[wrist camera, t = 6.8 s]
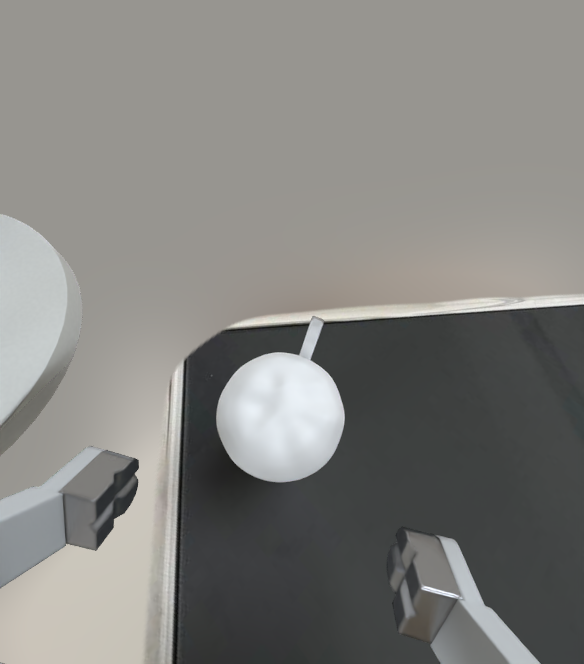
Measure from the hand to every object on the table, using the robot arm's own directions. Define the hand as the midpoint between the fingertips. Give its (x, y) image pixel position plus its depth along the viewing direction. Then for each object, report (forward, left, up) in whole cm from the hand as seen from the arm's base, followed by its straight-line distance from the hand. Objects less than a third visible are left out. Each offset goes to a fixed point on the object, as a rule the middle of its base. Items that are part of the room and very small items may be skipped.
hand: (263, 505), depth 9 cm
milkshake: (-1, +3, -9) cm, 9 cm away
